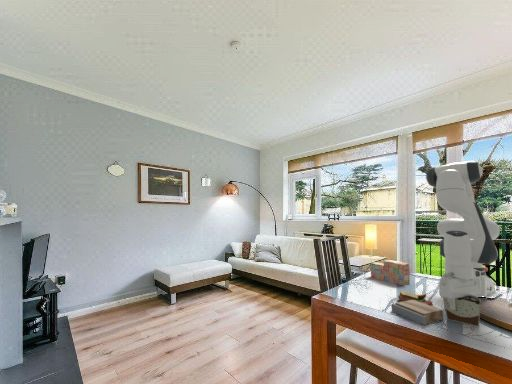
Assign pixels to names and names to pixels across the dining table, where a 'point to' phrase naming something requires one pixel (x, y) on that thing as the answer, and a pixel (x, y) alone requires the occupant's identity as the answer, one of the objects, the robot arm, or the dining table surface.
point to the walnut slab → (423, 310)
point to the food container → (464, 310)
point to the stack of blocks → (391, 272)
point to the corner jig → (409, 314)
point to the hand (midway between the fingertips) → (461, 307)
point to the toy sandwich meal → (414, 297)
